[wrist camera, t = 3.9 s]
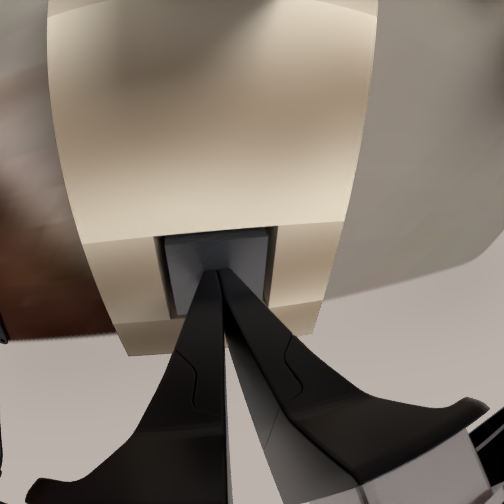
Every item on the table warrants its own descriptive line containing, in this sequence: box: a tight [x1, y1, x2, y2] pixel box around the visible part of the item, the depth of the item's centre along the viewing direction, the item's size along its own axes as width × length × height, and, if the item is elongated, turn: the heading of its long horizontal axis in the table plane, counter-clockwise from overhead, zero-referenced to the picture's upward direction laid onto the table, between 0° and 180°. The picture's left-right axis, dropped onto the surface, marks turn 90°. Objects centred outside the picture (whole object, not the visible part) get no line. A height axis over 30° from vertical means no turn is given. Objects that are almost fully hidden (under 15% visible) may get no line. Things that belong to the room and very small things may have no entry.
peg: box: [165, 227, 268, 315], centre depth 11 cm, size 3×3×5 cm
